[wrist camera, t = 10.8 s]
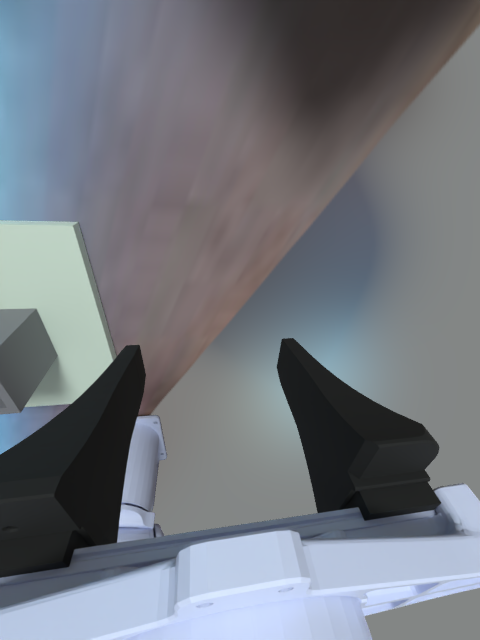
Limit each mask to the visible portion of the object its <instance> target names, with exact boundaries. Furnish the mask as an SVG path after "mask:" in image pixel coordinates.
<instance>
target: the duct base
mask: <svg viewBox="0 0 480 640" xmlns="http://www.w3.org/2000/svg"><path fill="white" fill-rule="evenodd" d="M31 308H36V309H37V311H38V313H39V315H40V317H41V320H42V322H43V324H44V326H45V328H46V331H47V333H48V335H49V337H50V339H51V342H52V344H53V346H54V348H55V350H56V353H57V355H58V356H57V358H56V360H55V361H54V363H53V364H52V366H51V367H50V369H49V370H48V372H47V373H46V375H45V376H44V378H43V379H42V381H41V382H40V384H39V385H38V387H37V389H36V390H35V392H34V393H33V395H32V396H31V398H30V399H29V401H28V402H27V404H26V405H25V407H34V406H48V405H61V404H72V403H73V402H74V401H75V400H76V399H77V398H79V397H80V396H81V395H82V394H83V393H84V392H85V391H86V390H87V389H88V388H89V387H90V386H91V385H92V384H93V383H94V382H95V381H96V380H97V379H98V378H99V377H100V375H101V374H102V373H103V372H104V371H105V370H106V369H107V368H108V366H109V365H110V364H111V363H112V362H113V361H114V359H115V358H116V357H117V356H116V353H115V349H114V346H113V342H112V339H111V335H110V332H109V328H108V325H107V321H106V318H105V314H104V311H103V307H102V304H101V300H100V296H99V293H98V289H97V286H96V282H95V279H94V275H93V272H92V268H91V265H90V261H89V258H88V254H87V251H86V247H85V244H84V240H83V237H82V233H81V230H80V226H79V223H78V222H51V221H3V220H0V309H31Z"/></svg>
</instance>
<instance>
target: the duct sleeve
mask: <svg viewBox="0 0 480 640" xmlns="http://www.w3.org/2000/svg"><path fill="white" fill-rule="evenodd" d="M57 356H58V355H57V353H56V350H55V348H54V346H53V344H52V342H51V339H50V337H49V335H48V333H47V331H46V328H45V326H44V324H43V322H42V320H41V317H40V315H39V313H38V311H37V309H36V308H31V309H0V414H10V413H21V411H22V410H23V408H24V407H25V405H26V404H27V402H28V401H29V399H30V398H31V396H32V395H33V393H34V392H35V390H36V389H37V387H38V385H39V384H40V382H41V381H42V379H43V378H44V376H45V375H46V373H47V372H48V370H49V369H50V367H51V366H52V364H53V363H54V361H55V360H56V358H57Z"/></svg>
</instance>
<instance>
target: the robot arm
mask: <svg viewBox="0 0 480 640" xmlns="http://www.w3.org/2000/svg"><path fill="white" fill-rule="evenodd" d="M277 369H278V374H279V379H280V382H281V386H282V388H283V391H284V394H285V396H286V399H287V401H288V404H289V406H290V409H291V412H292V414H293V417H294V420H295V422H296V425H297V428H298V432H299V435H300V439H301V442H302V446H303V450H304V454H305V458H306V461H307V466H308V470H309V474H310V479H311V483H312V487H313V492H314V497H315V502H316V507H317V511H318V513H316V514H309V515H303V516H296V517H289V518H283V519H276V520H269V521H262V522H255V523H249V524H241V525H235V526H228V527H221V528H215V529H208V530H201V531H194V532H187V533H181V534H174V535H167V536H164V534H163V532H162V530H161V527H160V525H159V524H154V519H155V513H154V512H152V510H153V506H154V499H155V491H156V482H157V474H158V465H159V460H165V459H166V458H167V453H166V448H165V442H164V437H163V432H162V427H161V422H160V417H159V416H157V415H150V416H138V412H139V409H140V405H141V401H142V397H143V393H144V386H145V377H146V374H145V369H144V364H143V359H142V355H141V350H140V345H129V346H125V347H124V349H123V350H122V351H121V352H120V353H119V355H118V356H117V357H116V358H115V359H114V361H113V362H112V363H111V364H110V365H109V366H108V368H107V369H106V370H105V371H104V372H103V373H102V374H101V375H100V377H99V378H98V379H97V380H96V381H95V382H94V383H93V384H92V385H91V386H90V387H89V388H88V389H87V390H86V391H85V392H84V393H83V394H82V395H81V396H80V397H79V398H77V399H76V400H75V401H74V402H73V403H72V404H71V405H70V406H68V407H67V408H66V409H65V410H64V411H62V412H61V413H60V414H59V415H57V416H56V417H55V418H53V419H52V420H51V421H49V422H48V423H47V424H46V425H44V426H43V427H42V428H40V429H39V430H37V431H36V432H34V433H33V434H32V435H30V436H29V437H27V438H26V439H24V440H23V441H21V442H20V443H18V444H17V445H15V446H14V447H12V448H10V449H9V450H7V451H6V452H4V453H2V454H1V455H0V640H373V639H372V637H371V634H370V631H369V628H368V625H367V623H366V620H365V617H364V616H367V615H371V614H375V613H379V612H383V611H386V610H390V609H394V608H398V607H402V606H406V605H410V604H414V603H418V602H422V601H426V600H429V599H433V598H438V597H442V596H446V595H450V594H454V593H459V592H462V591H467V590H472V589H476V588H480V501H479V500H478V499H477V497H476V496H475V495H474V493H473V492H472V491H471V490H470V489H469V487H468V486H467V485H466V484H464V483H462V484H454V485H447V486H441V487H438V488H436V489H434V490H432V488H431V487H430V485H429V484H428V481H430V477H429V476H428V474H427V473H426V471H425V469H426V467H427V466H428V465H429V464H430V463H431V462H432V461H433V460H434V459H435V457H436V456H437V454H438V451H439V445H438V444H437V442H436V441H435V440H434V438H433V437H432V436H431V435H430V434H429V432H428V431H427V430H426V429H425V427H424V426H423V425H422V424H420V423H418V422H416V421H413V420H411V419H409V418H407V417H404V416H402V415H400V414H397V413H395V412H393V411H391V410H389V409H388V408H386V407H383V406H382V405H380V404H378V403H376V402H374V401H372V400H371V399H369V398H367V397H366V396H364V395H362V394H361V393H359V392H357V391H356V390H354V389H353V388H351V387H350V386H348V385H347V384H346V383H344V382H343V381H341V380H340V379H339V378H337V377H336V376H335V375H333V374H332V373H331V372H330V371H328V370H327V369H326V368H325V367H323V366H322V365H321V364H320V363H319V362H318V361H317V360H316V359H315V358H313V357H312V356H311V355H310V354H309V353H308V352H307V351H306V350H305V349H304V348H303V347H302V346H301V345H300V344H299V343H298V342H296V340H294V339H293V338H288V339H282V342H281V347H280V353H279V358H278V364H277ZM137 416H138V417H137Z"/></svg>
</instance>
